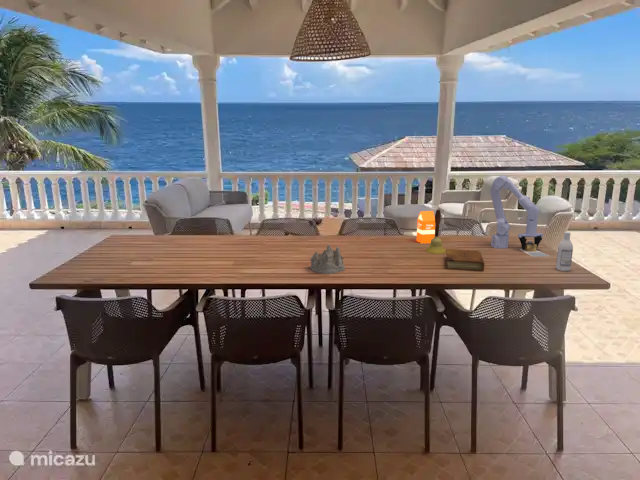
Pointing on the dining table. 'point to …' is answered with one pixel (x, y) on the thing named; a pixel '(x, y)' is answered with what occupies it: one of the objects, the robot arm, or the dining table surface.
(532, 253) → the board
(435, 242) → the handbell
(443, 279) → the dining table surface
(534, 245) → the collar
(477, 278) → the dining table surface
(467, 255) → the diary
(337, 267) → the grey sandcastle
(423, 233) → the orange juice
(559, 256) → the bath foam
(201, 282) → the dining table surface
